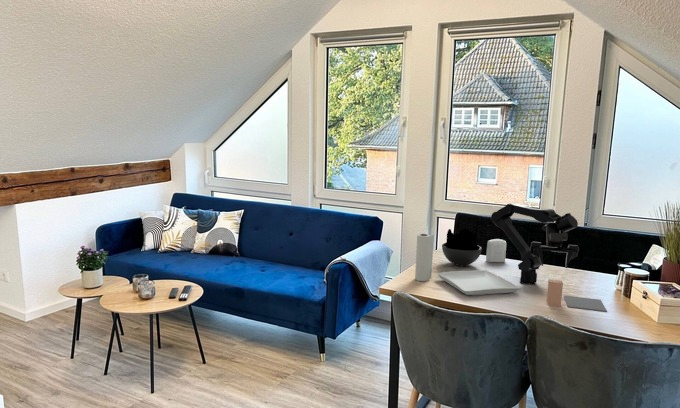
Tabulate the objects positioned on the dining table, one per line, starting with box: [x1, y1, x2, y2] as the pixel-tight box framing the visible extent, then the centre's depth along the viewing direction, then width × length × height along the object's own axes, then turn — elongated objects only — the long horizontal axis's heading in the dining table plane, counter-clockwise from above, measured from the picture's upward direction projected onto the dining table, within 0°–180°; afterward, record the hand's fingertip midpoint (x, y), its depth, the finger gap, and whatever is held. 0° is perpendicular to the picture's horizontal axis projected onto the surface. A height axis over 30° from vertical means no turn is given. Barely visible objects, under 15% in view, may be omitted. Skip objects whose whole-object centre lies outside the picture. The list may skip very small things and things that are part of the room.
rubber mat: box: [563, 294, 608, 313], centre depth 197 cm, size 14×14×1 cm
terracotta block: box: [546, 278, 564, 307], centre depth 195 cm, size 5×4×10 cm
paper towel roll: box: [414, 233, 435, 282], centre depth 222 cm, size 7×6×21 cm
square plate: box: [435, 269, 522, 296], centre depth 216 cm, size 27×27×4 cm
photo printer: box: [485, 238, 507, 263], centre depth 259 cm, size 10×4×12 cm, turn 98°
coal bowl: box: [441, 228, 483, 267], centre depth 250 cm, size 20×20×19 cm
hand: (554, 266), depth 201 cm, fingers open, 9 cm apart
